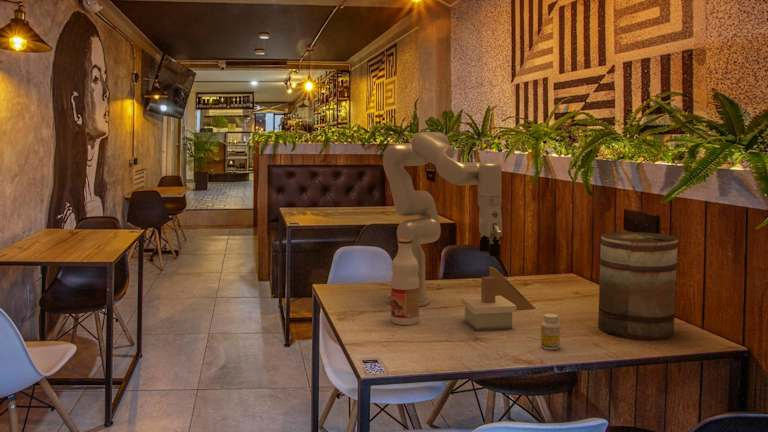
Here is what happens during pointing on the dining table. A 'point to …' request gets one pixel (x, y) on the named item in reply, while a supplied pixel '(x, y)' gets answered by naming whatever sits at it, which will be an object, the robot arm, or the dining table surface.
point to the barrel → (637, 285)
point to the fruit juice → (404, 285)
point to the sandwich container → (509, 291)
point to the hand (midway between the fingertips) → (489, 253)
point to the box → (489, 320)
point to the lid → (488, 300)
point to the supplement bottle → (550, 332)
